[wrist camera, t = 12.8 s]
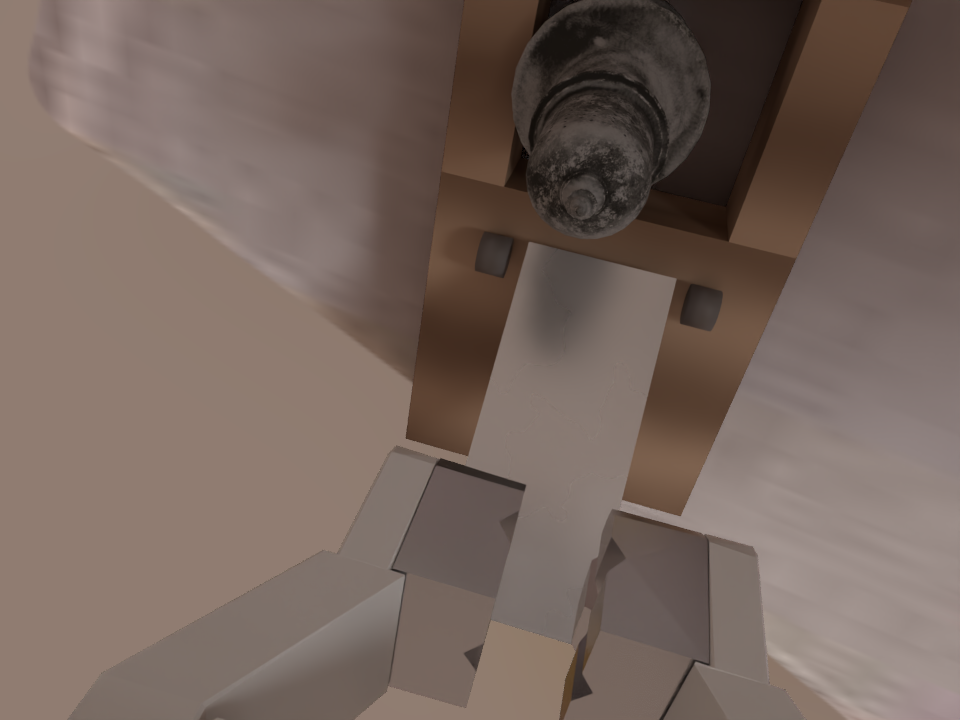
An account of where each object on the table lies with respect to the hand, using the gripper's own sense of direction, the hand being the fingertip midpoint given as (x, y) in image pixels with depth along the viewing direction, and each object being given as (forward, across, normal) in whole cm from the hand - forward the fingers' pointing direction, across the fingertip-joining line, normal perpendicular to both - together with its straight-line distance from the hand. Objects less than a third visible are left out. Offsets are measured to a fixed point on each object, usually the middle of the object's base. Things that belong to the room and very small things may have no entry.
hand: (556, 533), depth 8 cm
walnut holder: (+21, 0, +5) cm, 22 cm away
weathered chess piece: (+21, +1, 0) cm, 21 cm away
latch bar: (+14, 0, +10) cm, 17 cm away
